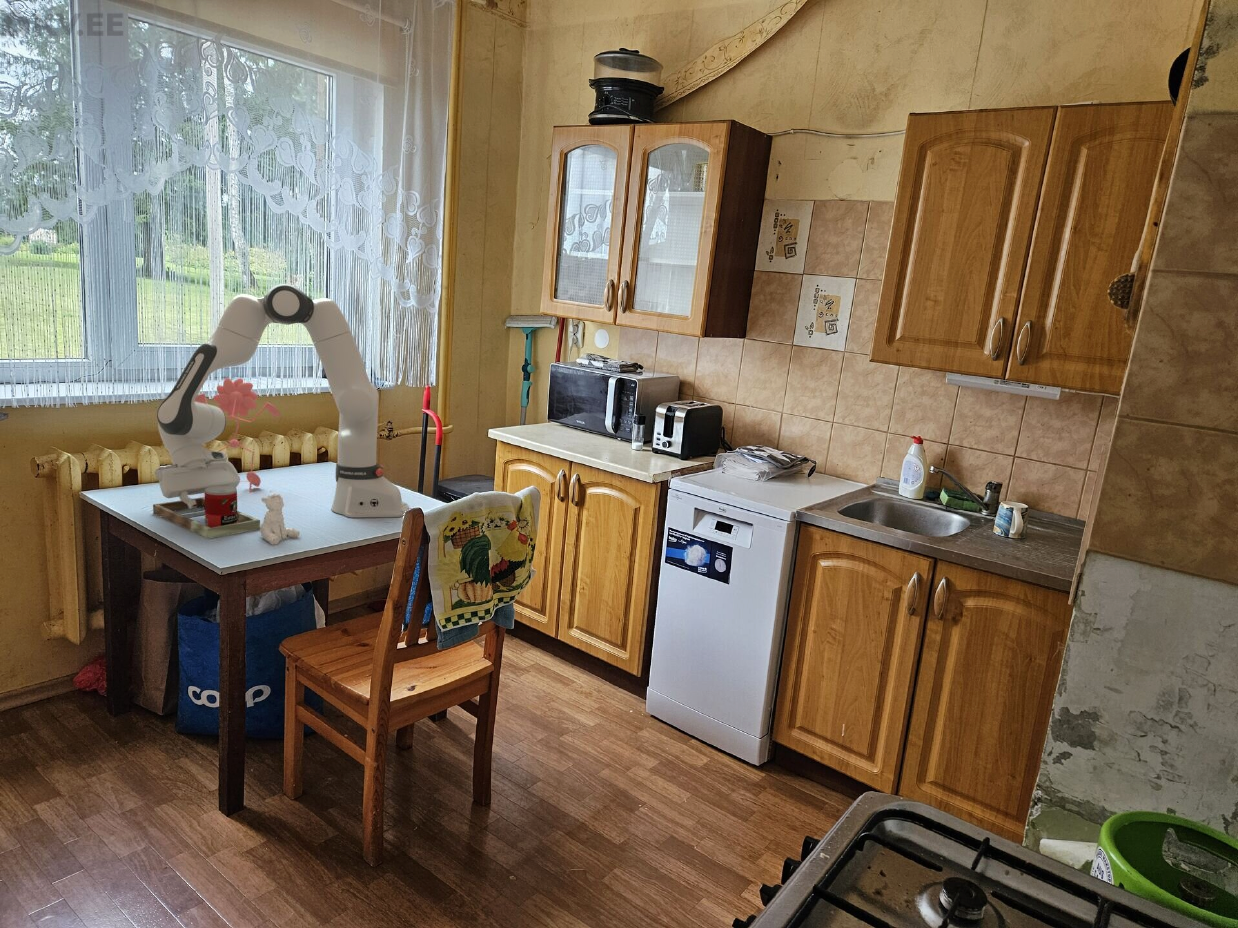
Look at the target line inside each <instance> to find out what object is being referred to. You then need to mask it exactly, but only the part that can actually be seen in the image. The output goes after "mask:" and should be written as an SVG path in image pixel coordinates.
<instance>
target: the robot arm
mask: <svg viewBox="0 0 1238 928" xmlns="http://www.w3.org/2000/svg"><path fill="white" fill-rule="evenodd" d="M270 324H280V325H286V326H287V325H294V324H301V325H303V326H304V328H305V329H306V330H307V332H308V335H309V336H310V339H311V341H312V343H313V346H314V348H315V351H316V353H317V356H318V358H319V360H320V362H321V365H322V367H323V370H324V373H325V376H326V378H327V382H328V383H327V384H328V385H329V388H330V392H331V395H332V397H333V400H334V402H335V405H336V408H337V409H338V412H339V416H338V417H339V420H338V432H337V433H338V434H337V463H336V464H335V476H334V477H335V481H336V485H335V486H336V487H335V493H334V497H333V501H332V505H331V508H330V509H331V511H332V512H334V513H336V514H340V515H343V516H345V517H347V518H398V517H399V518H400V517H403V516H404V515H403V514H404V513H405V511H407V510H408V509H409V510H410V507H409V504H408V503H406V502H404V501H402V499H403V498H402V494H401V491H400V489H399V488H398V486H396V485H395V484H393V483H392V482H391V481H390V480H389V479H387V478H386V477H384V476H383V475H384V466H383V464H381V465H380V464H378V463H377V451H378V450H377V447H378V446H377V445H378V444H377V443H378V441H377V440H378V425H379V424H378V420H379V418H378V417H379V397H380V395H379V391H378V389H377V387H376V386H375V385H374V383H372V382H371V381H370V379H369V377H368V373H367V370H366V367H365V364H364V360H363V358H362V355H361V352H360V350H359V347H358V344H357V343H356V340H355V337H354V335H353V333H352V330H351V327H350V326H349V323H348V321H347V319H346V317H345V315H344V313H343V312H342V311H341V309H340V307H339V306H338V304H337V303H336V301H334V300H333V299H330V298H326V297H321V298H315V299H312V298H311V297H309V296H308V295H307V294H306V293H304V291H302V290H301V289H300V288H298V287H297V286H295V285H293V284H290V283H280V284H276V285H274V286H273V287H270V289H269V290H268V291H267V292H266V294H265V295H264V296H262V297H256V296H254V295H251V294H242V293H241V294H238V295H236V296H234V297H233V298H232V300H231V301H230V302H229V304H228V306H227V307H226V308H225V310H224V312H223V314H222V316H221V317H220V320H219V322H218V325H217V327H216V330H215V331H214V333H213V334H212V335H211V337H210V338H209V339H208V340H207V342H205V343H203V344H201V345H200V346H198V348H197V349H196V350H195V351H194V353H193V354H192V356H191V357H190V359H189V360H188V362H187V364H186V366H185V367H184V369H183V371H182V373H181V375H180V376H179V377H178V379H177V381H176V383H175V385H174V386H173V388H172V389H171V391H170V393H169V394H168V395H167V396H166V397H165V398H164V400H163V401H162V402H161V403H160V405H159V406H158V409H157V413H156V418H157V428H158V434H159V435H160V438H161V441H162V443H163V445H164V448H165V449H166V450H167V451H168V453H169V458H170V461H171V463H172V464H168V465H161V466H158V467H157V468H156V469H155V470H154V475H155V477H156V479H157V480H158V482H159V487H160V490H161V493H162V494H161V495H163V497H165V498H167V499H172V498H173V499H174V498H179V499H180V500H182V501H183V502H184V503H186V504H187V505H188V507H189V509H192V508H197V507H196V506H197V503H196V501H195V500H191V499H192V498H190V497H189V496H192V495H193V496H194V495H201V494H205V489H206V488H208V487H212V486H231V487H235V488H236V489H237V487H238V486H239V484H240V483H241V482H240V481H241V477H240V475H239V473H238V471H237V469H236V468H235V466H234V464H233V463H231V462H230V461H229V460H228V455H227V453H225V452H222V451H219V452H217V451H218V450H217V451H215V450H210V449H207V448H205V447H204V444H208V443H210V442H212V441H213V440H215V439H217V438H218V437H219V436H221V435H222V434H223V433H224V432H225V430H226V427H227V418H226V417H225V416H226V414H225V412H223V411H222V409H220V408H219V407H218V406H216V405H214V404H213V405H212V404H209V403H208V404H206V402H204V403H199V402H195V399H196V397H197V395H199V393H200V392H201V389H202V388H203V386H204V384H205V383H206V381H207V380H208V378H209V377H210V376H211V374H212V373H214V372H215V371H217V370H220V369H224V368H228V367H229V368H230V367H237V366H241V365H243V364H245V363H248V362H249V361H250V360H251V359H252V357H254V355H255V353H256V351H257V349H258V346H259V343H260V341H261V338H262V337H263V333H264V331H265V330H266V328H267V326H268V325H270ZM180 500H179V501H180Z"/></svg>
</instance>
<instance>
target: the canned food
mask: <svg viewBox="0 0 1238 928" xmlns="http://www.w3.org/2000/svg"><path fill="white" fill-rule="evenodd" d="M204 498H205V510H204V511H205V515H204V521H205V522H204V525H205V526H207V527H210V528H212V527H218V526H223V525H229V524H235V523H238V522H237V511H238V489H237V487H236V488H235V487H231V486H212V487H208V488H206V489H205V493H204Z"/></svg>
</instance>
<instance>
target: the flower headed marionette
mask: <svg viewBox="0 0 1238 928" xmlns="http://www.w3.org/2000/svg"><path fill="white" fill-rule="evenodd" d="M253 387H254V385H253V383H252V382H244V380H243V378H237V379H235V380H234V381H233V380H232V379H230V378H229V377H225V379H224V380H223V384H222V385H221V384H219V385H217V386H216V390H217V391H216V392H217V394H214V395H213V397H212V400H213V401H214V402H215V403H217V404H219V405H218V406H217V407H219V408H220V409H222V411H223V412H224V413H226V412H227V415H225V417H226V419H228V418H230V419H232V420H233V421H234V422H235V423H237V425H236V428H235V432H234V437H233V439H231V440H230V441H229V444H227V445H226V446H224V447H222V448H221V449H219V450H217V452H222V451H223V450H224V449H226V448H228V447H231V448H238V447H241V448H242V449H245V450H247V451H248V452H250V453H252V454H251V466H250V471H248V472H246V480H244V481H243V480H240V482H239V483H249V489H248V490H249V491H248V492H249V493H252V485H253V486H255V487H257V488H259V487H260V484H261V482H262V481H261V478H260V476H259V475H258V474H257V473H256V472H254V471H253V467H254V466H253V465H254V455H255V453H254V451H252V450H250V449H249V448H247V447H245V446H243V445H242V444H240V441H239V440H237V439H236V437H237V435H238V431H239V429H240V428H239V427H240V425H241V424H240V422H239V421H238V420H240V421H242V422H245V423H249V424H252V423H254V421H255V420H256V419H257V417H259V415H261V413H262V412H263V411H264V409H266V410H267V411H268V412H269V413H270V414H271V415H272V416H274V417H275V418H278V419H279V418H280V416H281V413H280V411H279V409H278V408H277V407H276V406H275V405H273V404H272V403H270V402H268V401H267V402H265V404H264V406H263V407H262V408H261V409H260V410H259V411H258V412H257V413H256V415H254V417H253V418H252V420H248V419H245V418H246V417H248V414H249V410H252V411H253V410H255V409H256V408H257V404H256V402H255V400H257V399H258V397H259V396H258V394H257V393H256V392H254V391H252V389H253ZM195 402H199V403H205V404H209V403H208V400H207V396H206V393H205V392H202V393H200V394H199V393H198V395H197V397H196V399H195ZM238 415H239V416H241V417H242V418H241V417H238ZM243 417H244V418H243ZM269 492H270V493H271V492H272V490H270V491H269Z"/></svg>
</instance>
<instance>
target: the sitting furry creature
mask: <svg viewBox="0 0 1238 928" xmlns="http://www.w3.org/2000/svg"><path fill="white" fill-rule="evenodd" d="M260 500H261V502H262V503H264V504H265V507H266V509H267V511H266V512H265V514H264V517H263V519H264V520H263V521H262V523H260V529H259V531H260V532H259V533H260V535H261V537H262V538H263V539H264V540H265V541H267V542H268V543H269V544H270V545H273V546H276V545H278V544H279V542H281V541H283V540H284V541H285V540H287V539H299V537H300V530H298V529H296V528H294V527H285V526H286V524H285V522H284V520H285V518H284V514H283V508H284V506H285V503H284V501H283V497H282V496H281V495H280V494H278V493H272V494H270V495H268V496H267V497H262V498H260Z"/></svg>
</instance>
